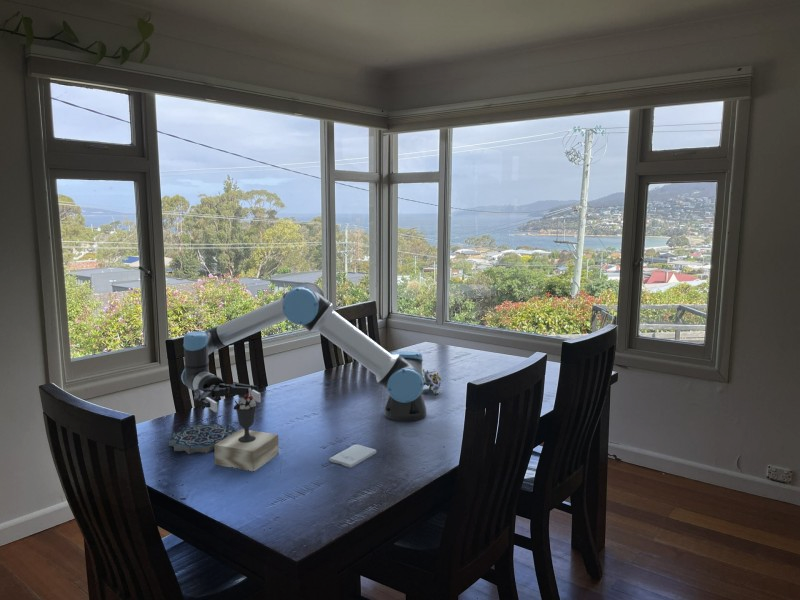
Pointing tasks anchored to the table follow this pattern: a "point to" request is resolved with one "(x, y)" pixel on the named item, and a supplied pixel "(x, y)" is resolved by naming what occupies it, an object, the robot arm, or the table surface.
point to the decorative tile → (199, 437)
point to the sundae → (246, 415)
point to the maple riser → (246, 450)
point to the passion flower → (432, 381)
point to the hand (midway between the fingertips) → (238, 402)
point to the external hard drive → (353, 455)
